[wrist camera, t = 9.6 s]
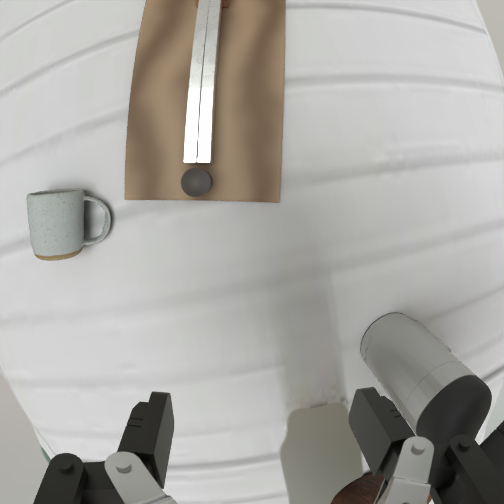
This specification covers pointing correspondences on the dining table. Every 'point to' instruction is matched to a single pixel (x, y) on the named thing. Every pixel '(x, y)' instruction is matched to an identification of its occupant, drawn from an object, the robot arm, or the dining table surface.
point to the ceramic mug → (60, 223)
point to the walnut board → (226, 105)
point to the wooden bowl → (362, 491)
